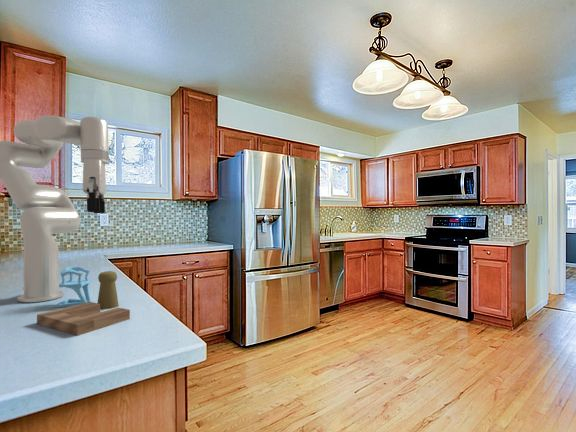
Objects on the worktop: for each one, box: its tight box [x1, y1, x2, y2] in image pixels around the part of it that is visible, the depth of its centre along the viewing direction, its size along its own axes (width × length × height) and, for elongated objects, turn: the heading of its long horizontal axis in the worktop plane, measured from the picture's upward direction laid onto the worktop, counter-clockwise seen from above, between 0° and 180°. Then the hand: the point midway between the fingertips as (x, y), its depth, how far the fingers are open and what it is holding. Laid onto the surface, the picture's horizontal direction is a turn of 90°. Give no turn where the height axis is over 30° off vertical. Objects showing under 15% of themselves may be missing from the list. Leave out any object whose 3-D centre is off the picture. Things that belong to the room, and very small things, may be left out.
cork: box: [97, 270, 119, 310], centre depth 102 cm, size 6×6×11 cm
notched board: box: [36, 301, 131, 336], centre depth 87 cm, size 18×14×2 cm
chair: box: [54, 266, 92, 309], centre depth 104 cm, size 8×8×12 cm
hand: (96, 212), depth 101 cm, fingers open, 9 cm apart
